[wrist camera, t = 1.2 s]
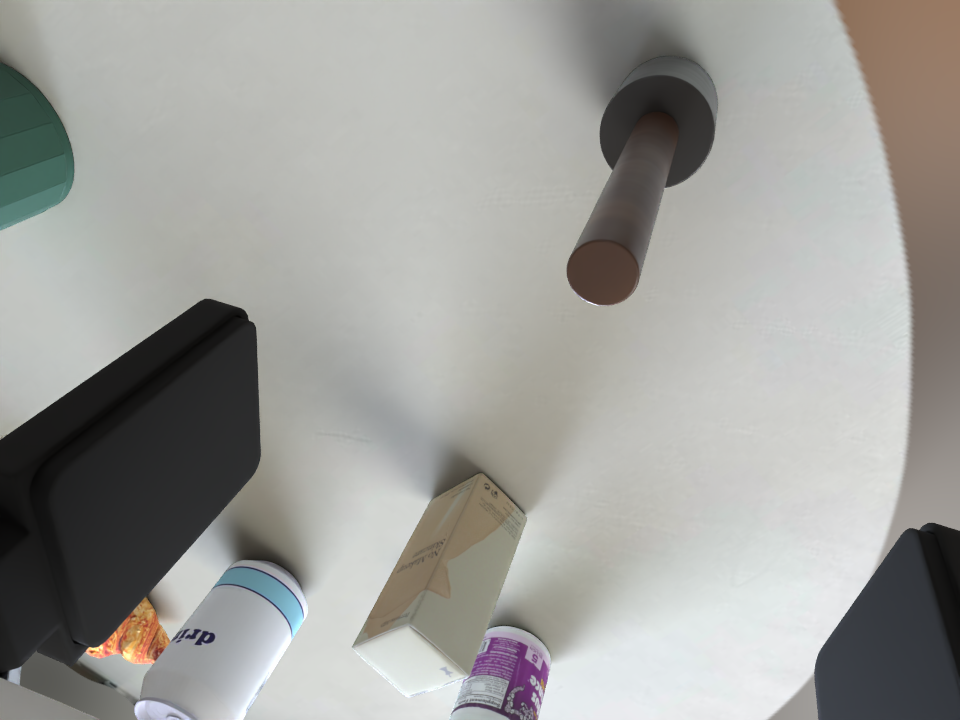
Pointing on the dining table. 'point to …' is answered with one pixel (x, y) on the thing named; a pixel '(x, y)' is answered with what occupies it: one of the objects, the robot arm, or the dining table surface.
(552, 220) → the dining table surface
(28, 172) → the jar
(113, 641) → the croissant
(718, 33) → the dining table surface
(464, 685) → the pill bottle
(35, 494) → the robot arm
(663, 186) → the dowel with disc base
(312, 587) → the dining table surface
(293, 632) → the beverage can
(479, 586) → the box
